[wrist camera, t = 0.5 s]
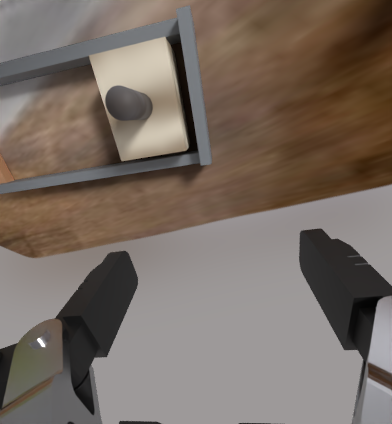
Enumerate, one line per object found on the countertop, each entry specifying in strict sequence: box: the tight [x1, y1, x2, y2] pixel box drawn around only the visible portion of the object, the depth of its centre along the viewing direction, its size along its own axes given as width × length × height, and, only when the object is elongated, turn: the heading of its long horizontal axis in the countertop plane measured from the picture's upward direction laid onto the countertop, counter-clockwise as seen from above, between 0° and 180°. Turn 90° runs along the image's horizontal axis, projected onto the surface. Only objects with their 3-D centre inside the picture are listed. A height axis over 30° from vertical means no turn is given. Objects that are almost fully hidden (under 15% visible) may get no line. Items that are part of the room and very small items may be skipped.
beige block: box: [89, 37, 191, 161], centre depth 25 cm, size 12×9×12 cm
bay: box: [0, 5, 212, 194], centre depth 30 cm, size 17×38×5 cm, turn 100°
